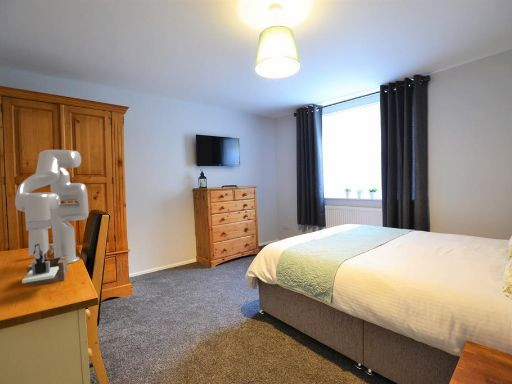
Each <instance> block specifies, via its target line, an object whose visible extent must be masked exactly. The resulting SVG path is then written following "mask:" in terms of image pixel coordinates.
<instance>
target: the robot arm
mask: <svg viewBox="0 0 512 384" xmlns="http://www.w3.org/2000/svg"><path fill="white" fill-rule="evenodd" d="M81 163H82V156H81V153H79V151H77V150H70V149H45V150H43V151H42V150H41V151H40V152H39V154H38V161H37V166H36V169H35V173H33V174H31V175H30V176H29V177H27V178H26V179H25V180H23V181H22V182H21V183H20V184H19V186H18V188H17V191H16V194H15V199H14V200H15V201H14V206H15V208H16V210H18V211H20V212H24V214H25V229H26V231H28V256H29V257H32V256H33V255H34V260H35V273H36V274H38V273H44V272H46V262H44V261H47V260H46V259H48V257H47V252H48V251H49V250H50V249H49V244H50V243H49V239H50V238H49V230H48V229H51V230H52V244H53V247H54V250H53V257H54V258H58V257H61V256H64V255H67V265H68V264H72V263H76V262H78V261H79V260H80V257H79V256H77V255H76V252H77V251H76V238H75V228H74V226H73V225H72V223H70V222H71V221H83V220H86V219H88V218H89V212H90V211H89V200H88V198H89V196H88V189H87V186H86V184H84V183H82V182H71V179H70V173H69V172H68V170H66V169H67V168H75V169H76V168H78V167H80V165H81ZM46 186H49V187H50V192H49V191H48V192H47V191H45V192H33V191H35V190H38V189H41V188H44V187H46ZM68 201H69V202H68ZM71 201H75V202H71ZM61 202H67V203H61Z"/></svg>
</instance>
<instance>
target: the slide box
mask: <svg viewBox="0 0 512 384" xmlns="http://www.w3.org/2000/svg"><path fill="white" fill-rule="evenodd" d="M46 260H47V261H50V268H51V267H57V266H59V269H58V271H57V273H56V275H55V276H54V278H50V279H44V280H38V281H32V282H27V286H28V287H30V288H31V287H35V286H40V285H46V284H53V283H59V282H64V281H65V280H66V277H67V274H68V273H69V268H68V264H67V255H64V256H61V257H58V258H53V257H51V258H47V259H46ZM33 263H35V259H33V261H31V263H30V264H29V265H28V266H27V268H26V275H27V274H28V273H29V272H30V271H31V270H32V264H33Z"/></svg>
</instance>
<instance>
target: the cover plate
mask: <svg viewBox="0 0 512 384" xmlns="http://www.w3.org/2000/svg"><path fill="white" fill-rule="evenodd" d="M44 262H46V272H44V273H38V274H36V273H35V263H33V264H32V270H31V271H30V272H29V273H28V274H27V273H26V275H25V276H24V278H23V279H22V280H21V283H22V284H26V283H28V282H32V281H38V280H44V279H50V278H54V276H55V275H56V273H57V271H58V269H59V266H57V267H51V268H50V261H44Z"/></svg>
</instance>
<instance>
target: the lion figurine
mask: <svg viewBox="0 0 512 384" xmlns="http://www.w3.org/2000/svg"><path fill="white" fill-rule="evenodd" d="M49 250H50V253H48V255H52V254H54V247H53V243H49Z"/></svg>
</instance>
